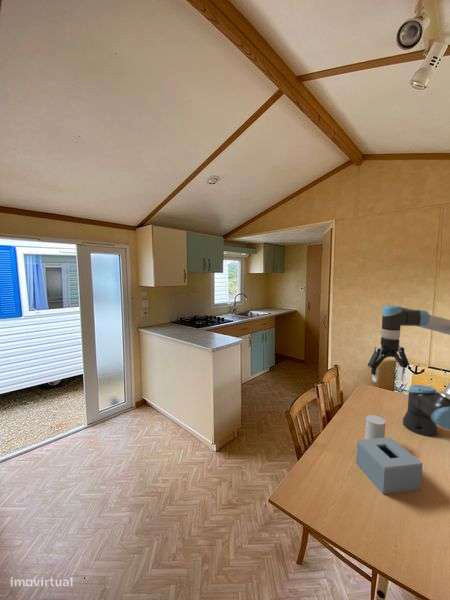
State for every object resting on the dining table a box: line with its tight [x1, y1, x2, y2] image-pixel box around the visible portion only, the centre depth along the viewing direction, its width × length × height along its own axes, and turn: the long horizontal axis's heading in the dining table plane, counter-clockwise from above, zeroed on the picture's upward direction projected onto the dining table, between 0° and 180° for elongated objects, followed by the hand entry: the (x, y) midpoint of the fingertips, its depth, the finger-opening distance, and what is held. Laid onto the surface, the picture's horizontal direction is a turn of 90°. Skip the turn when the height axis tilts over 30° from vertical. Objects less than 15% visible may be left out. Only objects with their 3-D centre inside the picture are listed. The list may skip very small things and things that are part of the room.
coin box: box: [355, 436, 424, 495], centre depth 106 cm, size 16×16×11 cm
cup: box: [364, 414, 386, 440], centre depth 126 cm, size 8×8×12 cm
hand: (387, 380), depth 125 cm, fingers open, 13 cm apart
